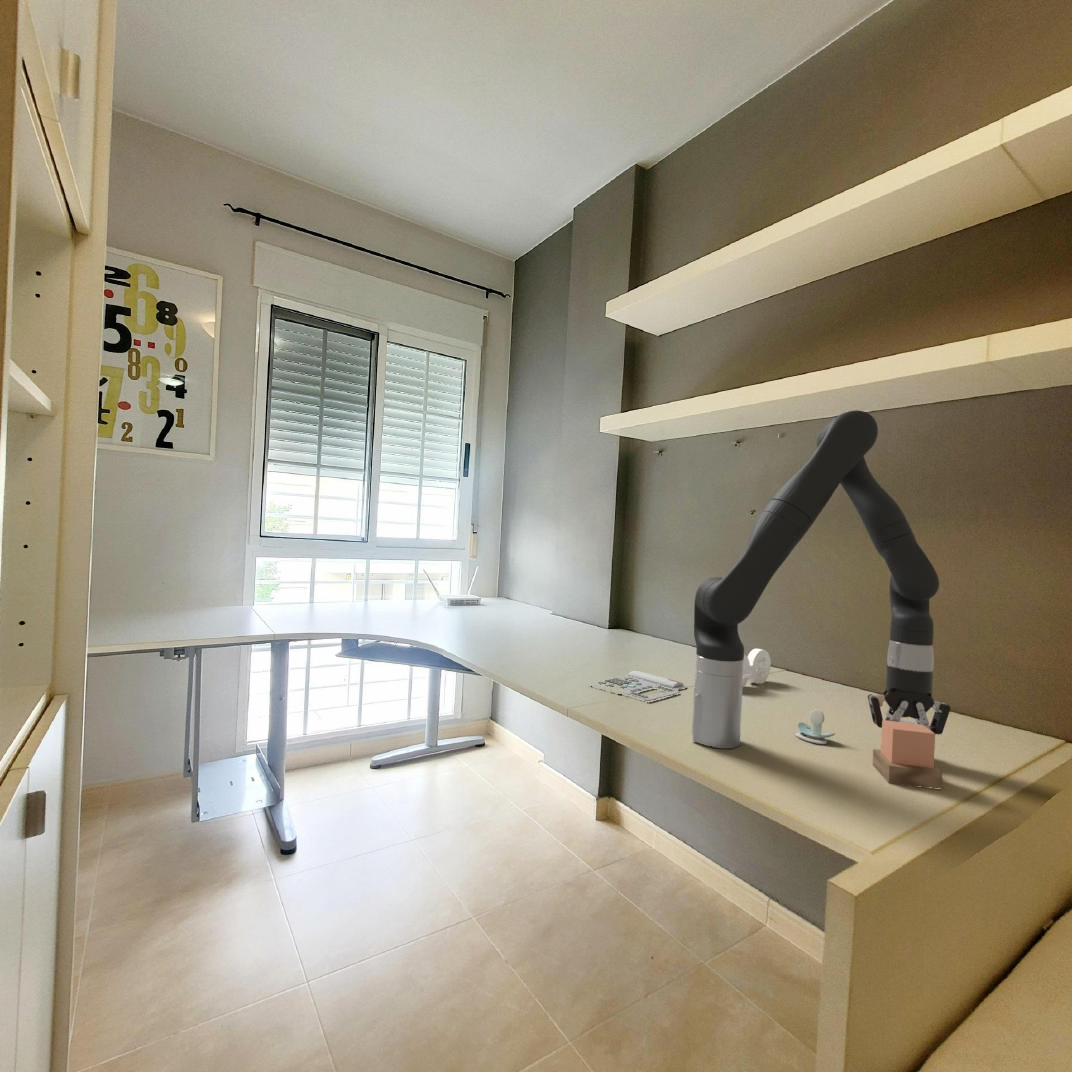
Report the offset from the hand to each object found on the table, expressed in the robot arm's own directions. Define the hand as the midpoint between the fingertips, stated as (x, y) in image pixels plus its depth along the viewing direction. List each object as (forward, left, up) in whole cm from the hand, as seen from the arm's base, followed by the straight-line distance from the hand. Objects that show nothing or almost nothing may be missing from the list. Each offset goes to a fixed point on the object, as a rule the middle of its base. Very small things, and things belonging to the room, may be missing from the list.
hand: (905, 751), depth 108 cm
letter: (-24, +45, -1) cm, 51 cm away
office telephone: (-53, +30, -2) cm, 61 cm away
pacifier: (-16, +4, -2) cm, 16 cm away
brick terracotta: (-4, -11, +2) cm, 12 cm away
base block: (-4, -11, -1) cm, 12 cm away
